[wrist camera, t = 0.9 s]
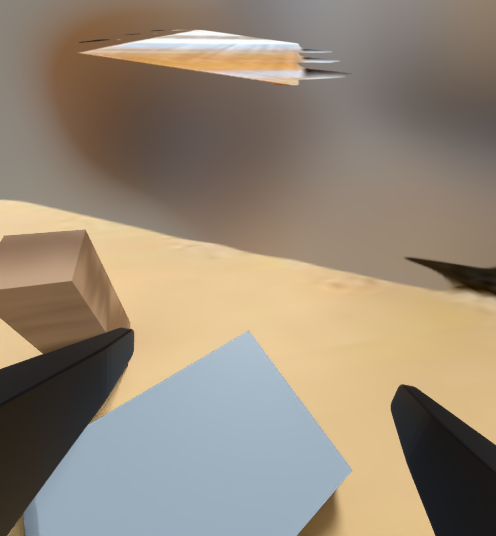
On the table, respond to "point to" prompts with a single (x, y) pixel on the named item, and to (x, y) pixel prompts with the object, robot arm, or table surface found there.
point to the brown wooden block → (56, 289)
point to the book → (196, 458)
